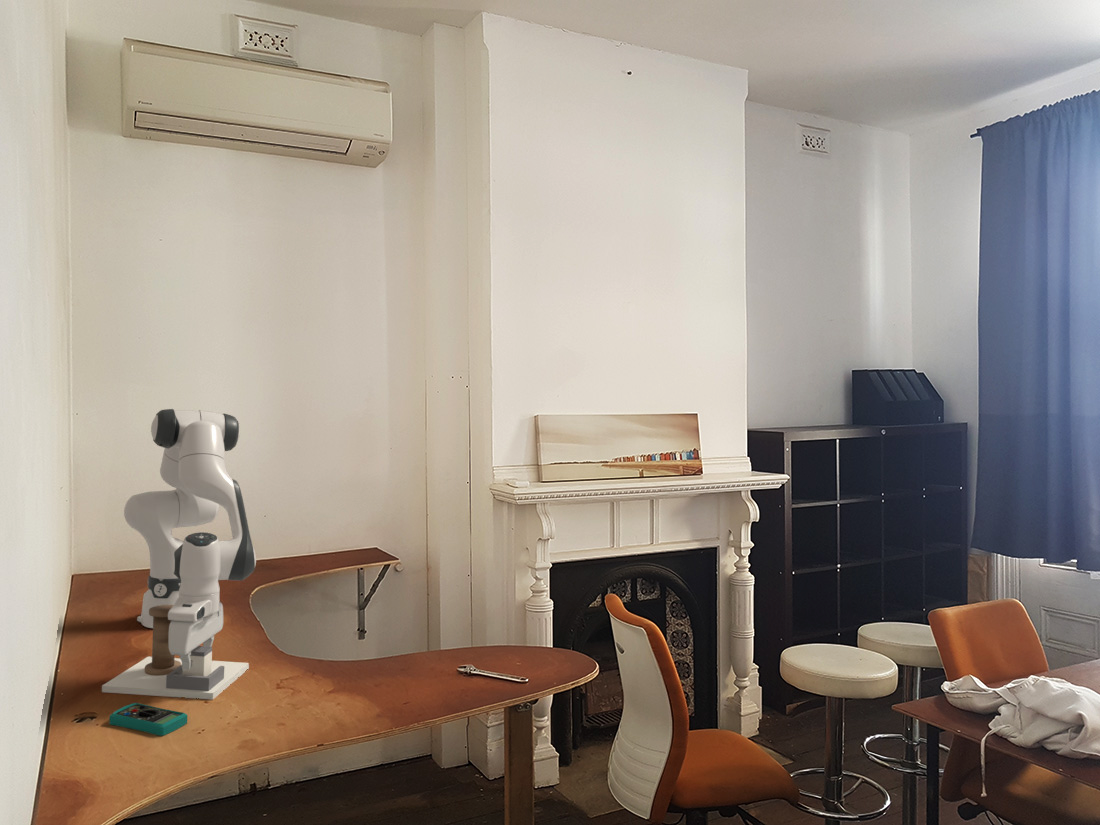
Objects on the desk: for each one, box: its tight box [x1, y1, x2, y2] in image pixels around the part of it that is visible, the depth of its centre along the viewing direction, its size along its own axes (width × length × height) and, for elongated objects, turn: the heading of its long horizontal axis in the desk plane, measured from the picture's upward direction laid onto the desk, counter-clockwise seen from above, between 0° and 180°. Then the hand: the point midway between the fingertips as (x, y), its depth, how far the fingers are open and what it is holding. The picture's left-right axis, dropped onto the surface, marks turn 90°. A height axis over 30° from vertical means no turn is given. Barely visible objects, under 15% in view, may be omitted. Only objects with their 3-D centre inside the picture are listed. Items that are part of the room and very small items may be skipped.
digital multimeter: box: [108, 702, 188, 737], centre depth 172 cm, size 7×15×3 cm, turn 72°
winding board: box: [101, 656, 250, 701], centre depth 197 cm, size 20×26×4 cm
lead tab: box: [183, 645, 213, 676], centre depth 192 cm, size 4×5×8 cm
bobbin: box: [145, 605, 181, 676], centre depth 199 cm, size 8×8×15 cm
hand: (196, 661), depth 192 cm, fingers open, 8 cm apart
